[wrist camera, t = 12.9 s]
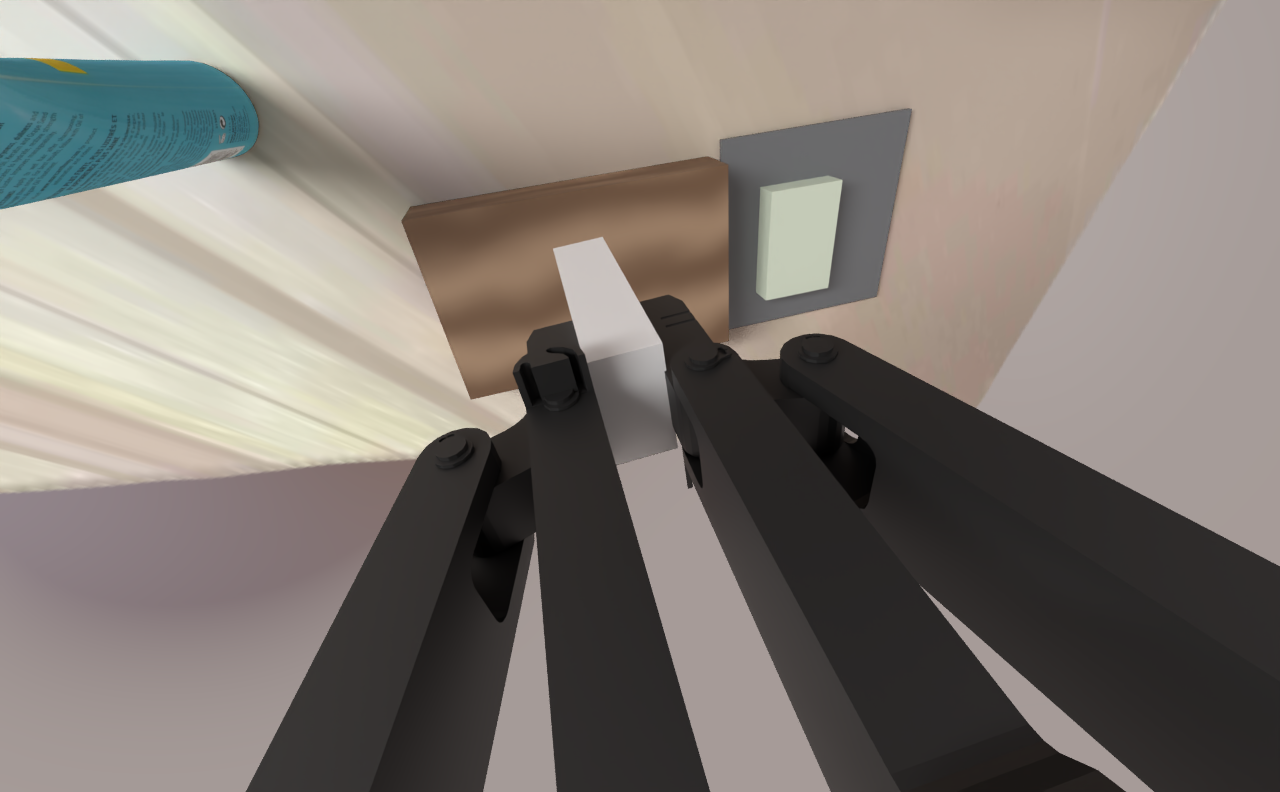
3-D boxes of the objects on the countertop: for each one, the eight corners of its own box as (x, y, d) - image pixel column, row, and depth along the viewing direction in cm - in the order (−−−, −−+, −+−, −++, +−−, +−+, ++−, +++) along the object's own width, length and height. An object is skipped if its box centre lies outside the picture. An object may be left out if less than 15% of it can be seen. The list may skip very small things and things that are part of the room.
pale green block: (842, 179, 38) (828, 175, 39) (772, 192, 37) (760, 187, 38) (827, 287, 43) (816, 279, 45) (765, 300, 42) (755, 292, 44)
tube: (193, 20, 26) (-238, -54, 11) (287, 97, 29) (50, 127, 13) (128, 127, 28) (-327, 197, 12) (222, 191, 30) (-55, 313, 15)
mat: (719, 139, 36) (721, 140, 36) (908, 108, 38) (911, 108, 38) (722, 328, 45) (723, 330, 45) (873, 294, 48) (876, 296, 47)
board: (410, 206, 34) (401, 221, 30) (707, 156, 37) (728, 164, 33) (472, 374, 42) (470, 399, 38) (711, 321, 45) (728, 340, 41)
